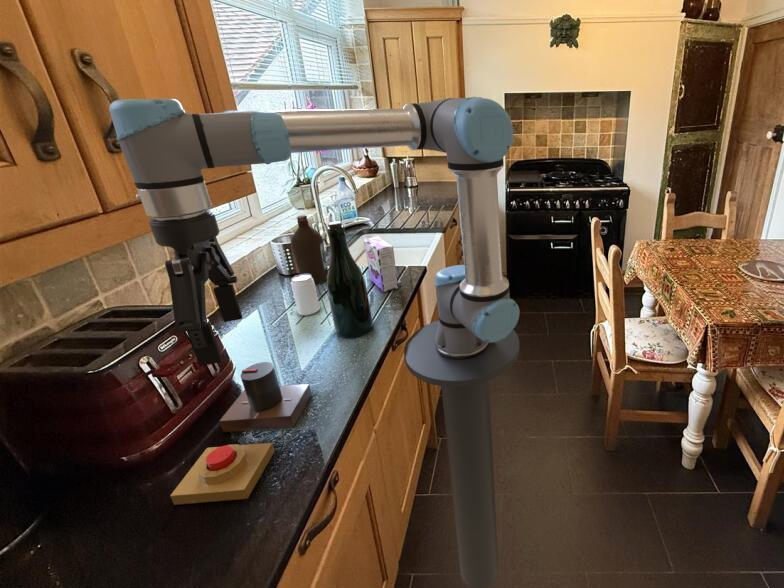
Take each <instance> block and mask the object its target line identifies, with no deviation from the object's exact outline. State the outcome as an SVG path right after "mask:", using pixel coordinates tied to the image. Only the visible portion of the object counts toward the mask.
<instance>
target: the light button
mask: <svg viewBox="0 0 784 588" xmlns="http://www.w3.org/2000/svg"><path fill="white" fill-rule="evenodd" d="M228 445H229V444H227V446H226V445H221V446H218V447H219V448H217V449H215V450H213V451H212V452H211V453H210V454H209V455H208V456H207V458H206V462H207V465H208V467H209V469H210V470H211V471H218V470H221V469H223V468H225V467H227V466H228V465H230V464H231V463H232V462H233V461H234V460H235V457H236V456H235V453H234V450H233V448H232V447H231V446H228Z"/></svg>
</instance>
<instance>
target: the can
mask: <svg viewBox="0 0 784 588" xmlns="http://www.w3.org/2000/svg"><path fill="white" fill-rule="evenodd" d="M290 286H291V289H292V295H293V298H294V302H295V307H296V310H297V314H299V315H300V316H302V317H303V316H304V317H306V316H312V315H315V314H316V313H318V312H319V311H320V309H321V306H320V302H319V296H318V292H317V288H316V284H315V283H314V280H313V278H312V277H311V275H310V274H300V273H299V274H297V275H294V276H293V277H291V282H290Z"/></svg>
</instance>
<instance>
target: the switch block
mask: <svg viewBox="0 0 784 588" xmlns="http://www.w3.org/2000/svg"><path fill="white" fill-rule="evenodd" d="M227 445H228V446H231V447H232V448H233V450H234V453H235V456H236V457H235V460H234V461H233V462H232V463H231V464H230V465H228V466H227V467H225V468H223V469H221V470H218V471H211V470H210V469H209V467H208V465H207V462H206V458H207V456H208V455H209V454H210V453H211V452H212V451H213V450H215V449H217V448H219V447H220V446H213V447H211V446H210V447H207V448H205V450H204V451H203V452H202V454H201V455H200V456H199V457H198V458H197V460H196V461H195V463H194V464H193V465H192V467H191V468H190V469H189V470H188V472H187V473H186V474H185V476H184V477H183V478H182V480H181V481H180V482H179V483H178V485H177V486H176V487H175V489H174V490H173V491H172V493H170V495H169V498H170V499H171V502H172V503H173V505H174V506H177V505H189V504H199V503H200V504H201V503H210V502H211V503H213V502H223V501H235V500H236V501H237V500H246V499H249V498H250V496H251V494H252V492H253V490H254V489H255V487H256V485H257V484H258V481H259V480H260V478H261V477H262V474H263V473H264V471H265V470H266V467H267V466H268V464H269V462H270V460H271V459H272V456H273V455H274V454H275V448H274V444H273V442H266V443H265V442H264V443H252V444H237V443H236V444H235V443H234V444H227ZM227 445H225V446H227Z"/></svg>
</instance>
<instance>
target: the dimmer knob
mask: <svg viewBox="0 0 784 588" xmlns="http://www.w3.org/2000/svg"><path fill="white" fill-rule="evenodd" d="M240 379H241V382H242V386H243V388H244V389H243V390H245V392H246V395H247V398H248V401H249V404H250V407H251V409H252V410H254V411H264V410H267V409H270V408H272V407H274V406H275V405H277V404H278V403H279V402H280V401H281V399H282V393H281V389H280V386H281V385H280V383H279V379H278V376H277V372H276V369H275V365H274V364H273V363H272V362H269V361H262V362H257V363H254V364H252V365H249V366H248V367H245V368H244V369H242V370H241V373H240Z"/></svg>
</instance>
